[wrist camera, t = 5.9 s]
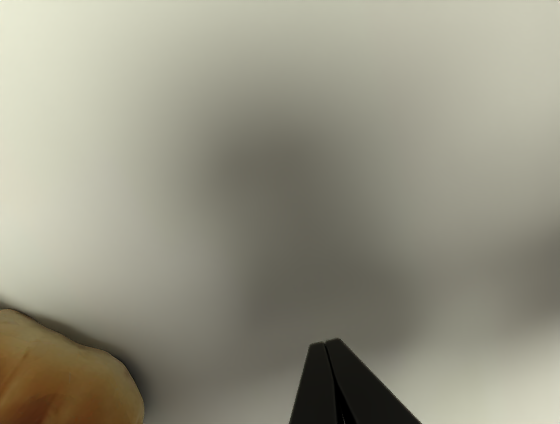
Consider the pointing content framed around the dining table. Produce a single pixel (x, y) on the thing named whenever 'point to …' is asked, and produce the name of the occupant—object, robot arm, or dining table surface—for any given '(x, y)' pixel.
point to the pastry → (60, 379)
